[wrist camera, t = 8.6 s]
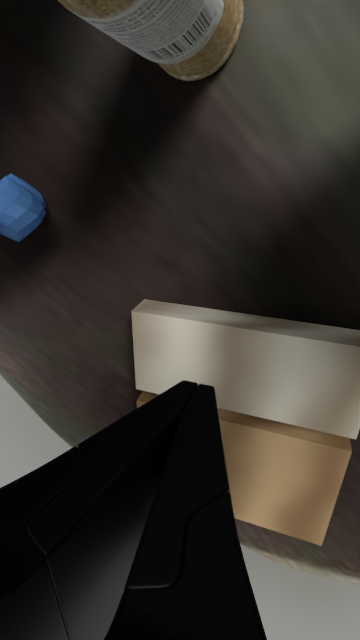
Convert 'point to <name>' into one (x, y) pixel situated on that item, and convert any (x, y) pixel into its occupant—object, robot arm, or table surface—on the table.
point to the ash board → (252, 363)
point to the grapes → (19, 208)
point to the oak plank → (281, 472)
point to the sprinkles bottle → (169, 30)
